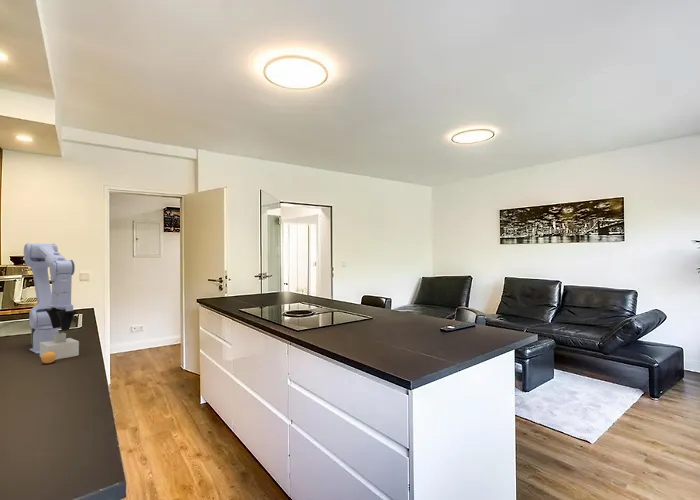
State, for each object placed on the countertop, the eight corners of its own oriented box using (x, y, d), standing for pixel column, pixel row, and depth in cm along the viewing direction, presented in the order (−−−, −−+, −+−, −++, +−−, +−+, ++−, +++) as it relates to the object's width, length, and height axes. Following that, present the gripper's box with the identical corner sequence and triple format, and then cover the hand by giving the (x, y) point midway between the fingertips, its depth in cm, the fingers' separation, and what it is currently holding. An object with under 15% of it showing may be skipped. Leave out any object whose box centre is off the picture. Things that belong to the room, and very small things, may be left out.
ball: (39, 363, 124) (39, 352, 124) (53, 360, 127) (54, 349, 127) (43, 365, 122) (43, 353, 122) (57, 362, 125) (58, 351, 125)
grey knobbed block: (39, 356, 132) (40, 334, 132) (69, 351, 140) (70, 330, 140) (47, 361, 127) (48, 337, 127) (78, 355, 134) (79, 333, 135)
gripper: (40, 292, 133) (39, 328, 133) (56, 294, 126) (56, 333, 126) (63, 290, 140) (62, 325, 139) (80, 292, 132) (79, 329, 132)
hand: (60, 328), depth 133 cm, fingers open, 7 cm apart
